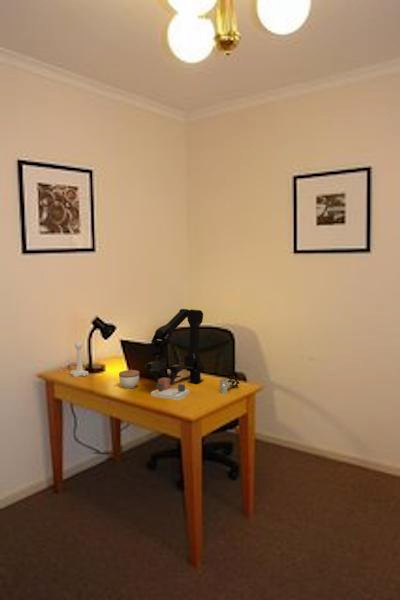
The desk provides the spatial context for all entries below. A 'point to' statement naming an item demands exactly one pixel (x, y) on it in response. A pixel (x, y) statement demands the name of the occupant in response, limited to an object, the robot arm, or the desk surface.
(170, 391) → the panel
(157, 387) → the lever tagged
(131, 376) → the lidded jar
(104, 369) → the desk surface
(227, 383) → the valve
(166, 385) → the block
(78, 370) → the joystick
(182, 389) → the lever
